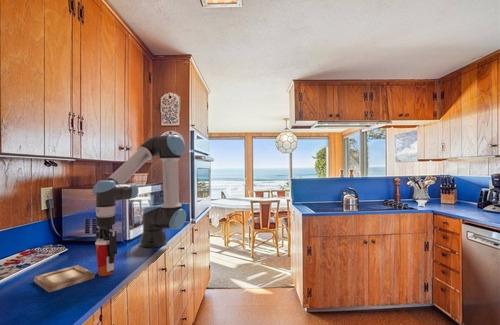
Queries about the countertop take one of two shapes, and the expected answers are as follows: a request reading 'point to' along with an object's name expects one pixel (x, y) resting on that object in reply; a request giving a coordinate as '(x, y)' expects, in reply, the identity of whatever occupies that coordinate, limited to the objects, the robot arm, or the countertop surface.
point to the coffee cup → (102, 257)
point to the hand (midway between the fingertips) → (105, 268)
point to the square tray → (63, 278)
